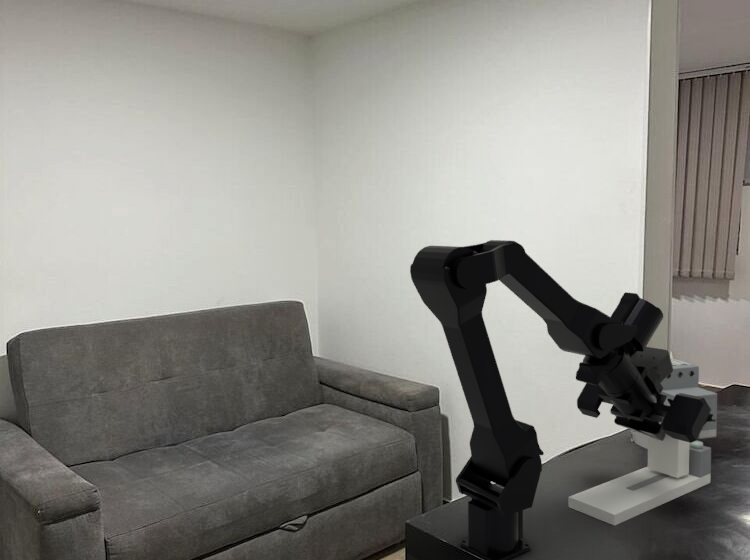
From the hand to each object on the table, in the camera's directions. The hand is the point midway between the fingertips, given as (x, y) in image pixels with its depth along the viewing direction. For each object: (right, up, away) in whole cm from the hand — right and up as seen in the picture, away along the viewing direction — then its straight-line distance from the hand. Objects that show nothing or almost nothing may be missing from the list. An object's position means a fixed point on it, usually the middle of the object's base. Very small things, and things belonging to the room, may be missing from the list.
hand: (661, 437), depth 105 cm
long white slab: (-4, -8, -2) cm, 9 cm away
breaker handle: (+2, -5, +1) cm, 6 cm away
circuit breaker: (+9, -6, +16) cm, 19 cm away
